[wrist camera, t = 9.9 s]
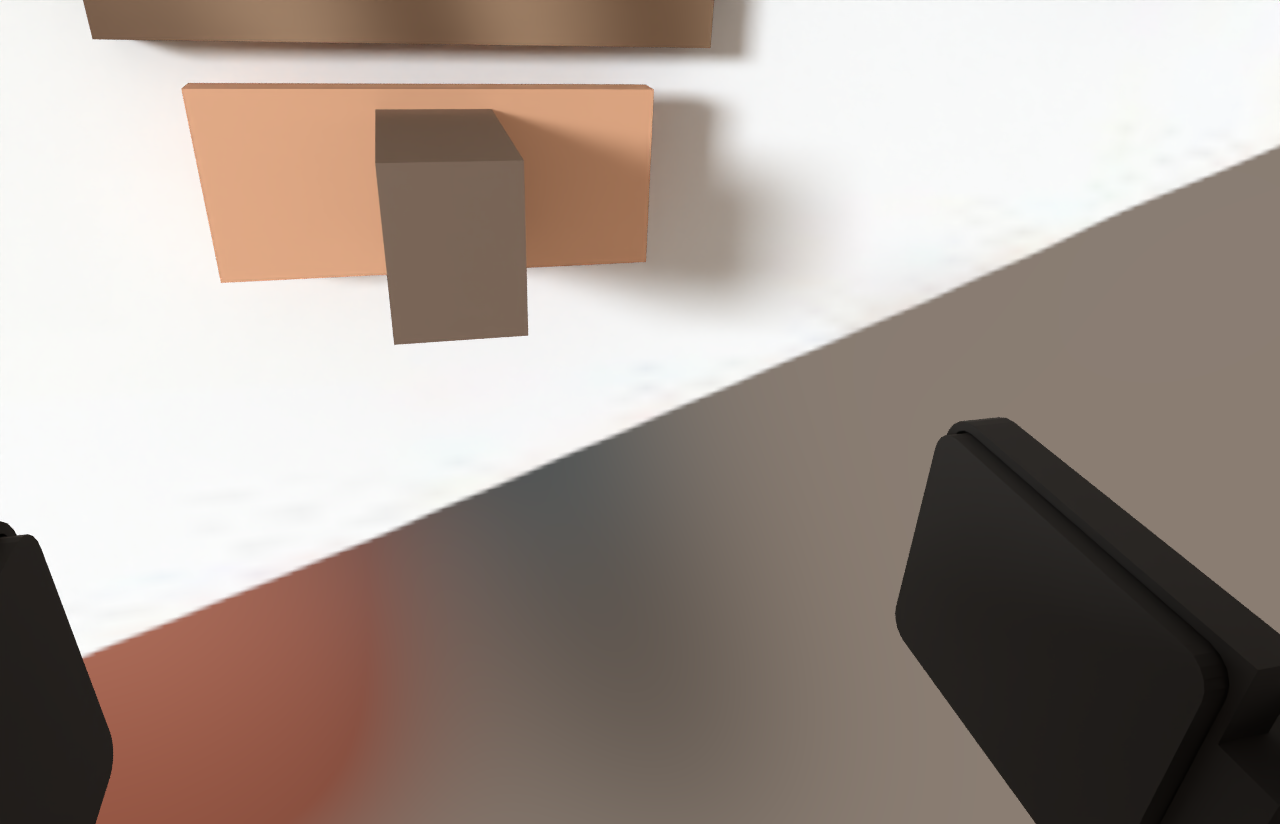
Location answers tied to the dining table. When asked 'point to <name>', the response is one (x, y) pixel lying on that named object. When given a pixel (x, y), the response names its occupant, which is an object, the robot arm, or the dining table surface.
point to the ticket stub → (424, 189)
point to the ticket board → (410, 21)
